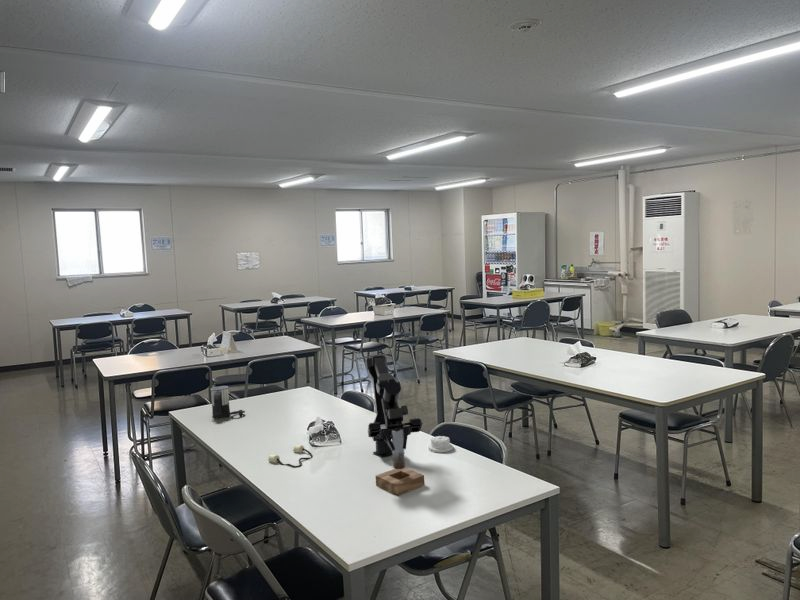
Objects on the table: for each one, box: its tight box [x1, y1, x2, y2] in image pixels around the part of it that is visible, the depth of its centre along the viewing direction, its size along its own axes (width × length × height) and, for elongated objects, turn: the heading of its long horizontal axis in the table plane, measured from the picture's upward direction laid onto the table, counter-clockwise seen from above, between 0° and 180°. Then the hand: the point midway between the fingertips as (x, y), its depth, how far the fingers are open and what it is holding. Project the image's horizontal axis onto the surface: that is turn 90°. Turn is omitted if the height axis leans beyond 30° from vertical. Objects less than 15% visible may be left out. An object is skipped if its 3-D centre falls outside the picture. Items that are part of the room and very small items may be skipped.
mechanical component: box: [427, 435, 454, 453], centre depth 235 cm, size 10×4×10 cm
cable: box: [267, 444, 314, 469], centre depth 231 cm, size 16×16×4 cm
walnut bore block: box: [375, 466, 426, 496], centre depth 200 cm, size 12×12×4 cm
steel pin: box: [391, 428, 406, 469], centre depth 199 cm, size 4×4×13 cm
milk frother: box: [209, 385, 246, 418], centre depth 299 cm, size 14×16×15 cm
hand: (399, 449), depth 198 cm, fingers closed on steel pin, 4 cm apart
